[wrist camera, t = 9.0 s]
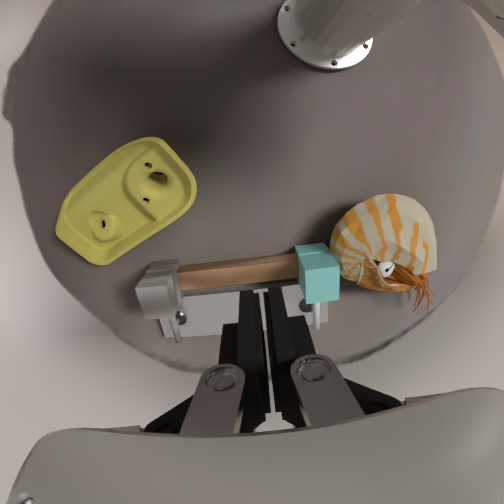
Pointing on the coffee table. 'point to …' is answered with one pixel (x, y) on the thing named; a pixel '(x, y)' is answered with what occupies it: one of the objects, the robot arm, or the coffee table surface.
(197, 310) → the bolt plate
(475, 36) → the coffee table surface
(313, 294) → the block
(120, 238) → the plastic component
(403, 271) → the nautilus
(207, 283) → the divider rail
